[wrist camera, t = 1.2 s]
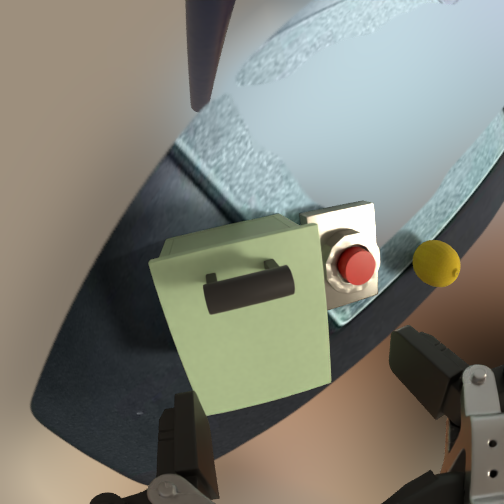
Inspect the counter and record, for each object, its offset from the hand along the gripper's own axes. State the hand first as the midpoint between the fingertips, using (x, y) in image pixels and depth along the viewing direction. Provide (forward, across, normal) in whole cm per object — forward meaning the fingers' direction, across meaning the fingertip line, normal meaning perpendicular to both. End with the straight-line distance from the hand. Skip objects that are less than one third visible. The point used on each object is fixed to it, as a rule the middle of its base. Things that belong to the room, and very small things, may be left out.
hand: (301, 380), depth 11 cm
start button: (+18, -11, +4) cm, 22 cm away
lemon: (+22, -23, +7) cm, 33 cm away
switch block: (+21, -11, +4) cm, 25 cm away
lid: (+11, +1, +5) cm, 12 cm away
